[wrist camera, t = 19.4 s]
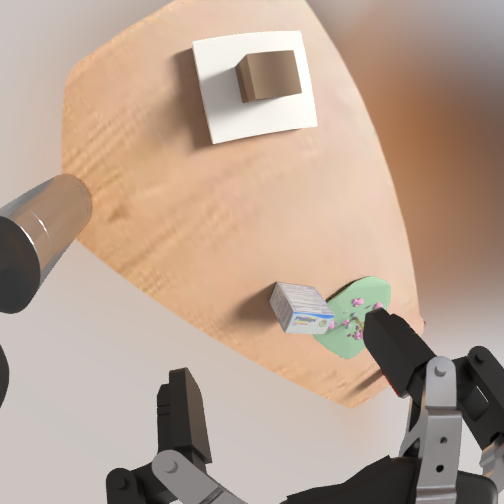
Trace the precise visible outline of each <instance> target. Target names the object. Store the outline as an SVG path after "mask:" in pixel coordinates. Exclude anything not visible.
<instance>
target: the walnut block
mask: <svg viewBox="0 0 504 504" xmlns="http://www.w3.org/2000/svg"><path fill="white" fill-rule="evenodd" d="M235 70H236V75H237V80H238V84H239V89H240V94H241V99H242V103H247V102H253V101H259V100H266V99H273V98H280V97H285V96H290V95H295V94H300V93H302V89H301V84H300V79H299V74H298V69H297V64H296V59H295V54H294V50H284V51H270V52H260V53H251V54H246V55H245V56H244V57H243V58H242V59H241V60H240V61H239V63H238V64H237V65H236V66H235Z"/></svg>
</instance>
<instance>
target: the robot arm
mask: <svg viewBox="0 0 504 504" xmlns="http://www.w3.org/2000/svg"><path fill="white" fill-rule="evenodd" d="M91 212H92V200H91V196H90V193H89V191H88V189H87V187H86V186H85V185H84V183H83V182H82V181H81V180H79V179H78V178H76V177H75V176H72V175H68V174H62V175H58V176H55V177H53V178H51V179H50V180H48V181H46V182H44V183H42V184H40V185H38V186H37V187H35V188H33V189H31V190H29V191H28V192H26V193H24V194H23V195H21V196H19V197H18V198H17V199H14V200H13V201H11V202H10V203H8V204H7V205H5V206H4V207H2V208H1V209H0V312H3V313H8V314H13V313H18V312H20V311H22V310H23V309H25V307H27V306H28V304H29V303H30V301H31V300H32V298H33V297H34V295H35V294H36V292H37V291H38V289H39V288H40V286H41V285H42V283H43V282H44V280H45V279H46V277H47V275H48V274H49V273H50V271H51V270H52V268H53V267H54V266H55V264H56V263H57V262H58V260H59V259H60V257H61V256H62V255H63V253H64V252H65V251H66V249H67V248H68V247H69V246H70V244H71V243H72V242H73V240H74V239H75V238H76V237H77V236H78V234H79V233H80V232H81V231H82V230H83V228H84V227H85V226H86V225H87V223H88V221H89V219H90V216H91ZM363 341H364V344H365V346H366V348H367V349H368V351H369V352H370V354H371V355H372V356H373V358H374V359H375V361H376V362H377V363H378V365H379V366H380V368H381V369H382V371H383V372H384V374H385V375H386V376H387V378H388V379H389V381H390V382H391V384H392V385H393V387H394V388H395V390H396V391H397V392H398V394H399V395H400V397H403V396H405V395H406V394H408V393H409V395H410V396H411V398H410V404H409V413H408V420H407V427H406V433H405V437H404V440H403V442H402V444H401V447H400V451H399V456H398V457H395V458H390V456H389V455H388V456H386V457H384V458H382V459H380V460H378V461H376V462H374V463H372V464H370V465H368V466H366V467H365V468H363V469H362V470H361V471H359V472H358V473H357V474H355V475H354V476H353V477H351V478H350V479H348V480H347V481H346V482H344V483H342V484H337V485H331V486H324V487H317V488H312V489H309V490H306V491H302V492H299V493H296V494H292V495H289V496H287V500H285V501H283V502H281V503H280V504H498V494H499V493H500V492H501V491H502V490H503V489H504V369H503V367H502V366H501V364H499V362H498V361H497V360H496V358H495V357H494V356H493V355H492V354H491V352H490V351H489V350H488V349H487V348H485V347H482V346H475V347H473V348H472V349H471V350H470V351H469V353H468V355H467V356H465V357H461V358H458V359H454V360H450V359H448V358H446V357H442V356H436V355H435V354H434V353H433V351H432V350H431V349H430V348H429V347H428V346H427V345H426V343H425V342H424V341H423V340H422V339H421V338H420V337H419V335H418V334H416V333H415V331H414V330H413V329H412V328H410V325H409V324H408V323H407V322H406V321H405V320H404V319H403V318H401V317H399V316H397V315H396V314H391V315H389V313H388V312H387V311H386V310H385V309H384V308H382V307H379V308H377V309H374V310H372V311H369V312H367V313H366V314H365V321H364V329H363ZM8 384H9V366H8V362H7V359H6V356H5V354H4V351H3V349H2V347H1V345H0V407H1V405H2V403H3V401H4V398H5V395H6V392H7V388H8ZM477 386H478V388H479V389H480V391H481V392H482V393H483V395H484V396H485V398H486V399H487V400H486V399H485V398H484V396H483V395H482V393H481V392H480V391H479V389H478V388H477ZM487 401H488V402H487ZM157 407H158V408H157V415H158V417H157V426H158V453H157V455H156V456H155V458H154V459H153V461H152V462H150V463H149V464H147V465H145V466H142V467H140V468H137V469H135V470H132V471H129V470H127V469H124V468H116V469H114V470H112V471H111V472H110V473H109V474H108V475H107V478H106V490H107V491H106V492H107V503H108V504H169V503H170V502H173V501H175V500H178V499H179V500H180V501H181V502H182V503H183V504H248V503H246V502H245V501H243V500H241V499H240V498H238V497H237V496H235V495H234V494H233V493H231V492H230V491H229V490H227V489H226V488H224V487H223V486H222V485H221V484H219V483H218V482H217V481H215V480H214V479H213V478H212V477H210V476H209V475H208V474H207V472H206V466H205V464H208V463H212V458H211V452H210V447H209V441H208V435H207V428H206V422H205V415H204V408H203V401H202V396H201V392H200V389H199V387H198V385H197V383H196V382H195V380H194V378H193V377H192V375H191V373H190V371H189V370H188V368H181V369H176V370H171V371H170V372H169V384H163V385H161V387H160V390H159V392H158V394H157ZM462 418H463V419H464V421H465V423H466V424H467V426H468V427H469V429H470V431H471V432H472V434H473V436H474V438H475V439H476V441H477V443H478V444H479V446H480V448H481V450H482V451H483V452H482V455H481V460H480V462H479V464H480V466H481V467H482V468H483V474H482V475H477V474H472V473H468V472H464V471H459V470H458V464H459V456H460V445H461V432H462Z"/></svg>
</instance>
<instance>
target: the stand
mask: <svg viewBox="0 0 504 504" xmlns="http://www.w3.org/2000/svg"><path fill="white" fill-rule="evenodd" d="M284 50H294V54H295V59H296V64H297V69H298V74H299V79H300V84H301V89H302V93H300V94H295V95H290V96H285V97H280V98H273V99H266V100H259V101H253V102H247V103H242V99H241V94H240V89H239V84H238V80H237V75H236V70H235V66H236V65H237V64H238V63H239V61H240V60H241V59H242V58H243V57H244V56H245V55H246V54H251V53H260V52H270V51H284ZM192 51H193V56H194V61H195V66H196V71H197V76H198V81H199V86H200V91H201V95H202V100H203V105H204V110H205V115H206V119H207V124H208V129H209V133H210V138H211V143H213V144H216V143H221V142H225V141H230V140H235V139H239V138H244V137H250V136H255V135H260V134H266V133H272V132H278V131H284V130H291V129H298V128H306V127H314V126H318V125H317V118H316V111H315V105H314V98H313V92H312V86H311V81H310V75H309V70H308V65H307V59H306V54H305V50H304V45H303V40H302V36H301V31H272V32H256V33H245V34H236V35H228V36H221V37H214V38H208V39H203V40H197V41H192Z"/></svg>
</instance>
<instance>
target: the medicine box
mask: <svg viewBox="0 0 504 504" xmlns="http://www.w3.org/2000/svg"><path fill="white" fill-rule="evenodd" d="M269 303H270V305H271V307H272V309H273V311H274V313H275V315H276V317H277V319H278V321H279V323H280V325H281V327H282V329H283V331H284V333H300V334H324V333H325V332H326V330H327V329H328V327H329V325H330V324H331V322H332V320H333V318H334V316H335V314H334V313H333V311H332V310H331V308H330V307H329V306H328V304H327V303H326V302H325V300H324V299H323V298H322V296H321V295H320V293H319V292H318V291H317V289H316V288H315V287H310V286H302V285H295V284H288V283H281V282H277V283H276V285H275V288H274V291H273V293H272V296H271V298H270V301H269Z"/></svg>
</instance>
